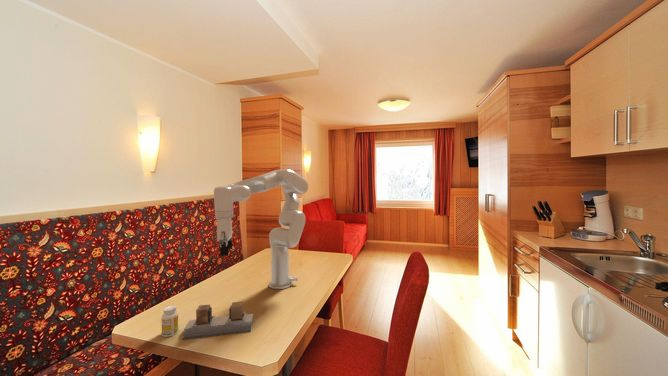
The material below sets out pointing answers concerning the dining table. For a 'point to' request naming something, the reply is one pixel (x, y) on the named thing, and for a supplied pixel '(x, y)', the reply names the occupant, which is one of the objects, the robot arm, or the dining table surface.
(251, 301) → the dining table surface
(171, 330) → the supplement bottle
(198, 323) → the brown rectangular block
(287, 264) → the robot arm
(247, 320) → the rail
